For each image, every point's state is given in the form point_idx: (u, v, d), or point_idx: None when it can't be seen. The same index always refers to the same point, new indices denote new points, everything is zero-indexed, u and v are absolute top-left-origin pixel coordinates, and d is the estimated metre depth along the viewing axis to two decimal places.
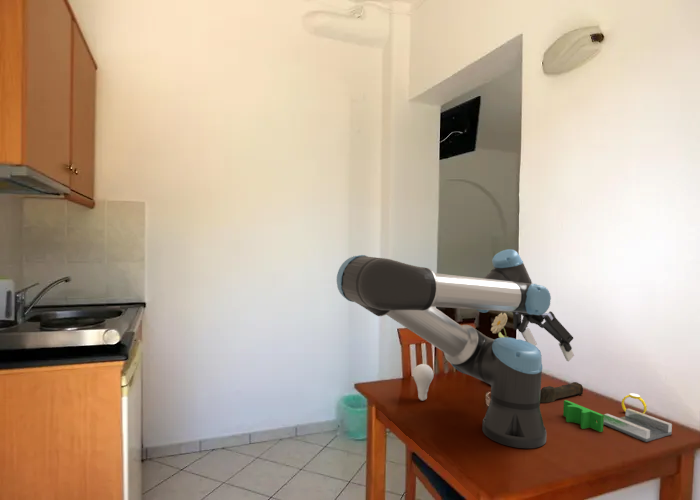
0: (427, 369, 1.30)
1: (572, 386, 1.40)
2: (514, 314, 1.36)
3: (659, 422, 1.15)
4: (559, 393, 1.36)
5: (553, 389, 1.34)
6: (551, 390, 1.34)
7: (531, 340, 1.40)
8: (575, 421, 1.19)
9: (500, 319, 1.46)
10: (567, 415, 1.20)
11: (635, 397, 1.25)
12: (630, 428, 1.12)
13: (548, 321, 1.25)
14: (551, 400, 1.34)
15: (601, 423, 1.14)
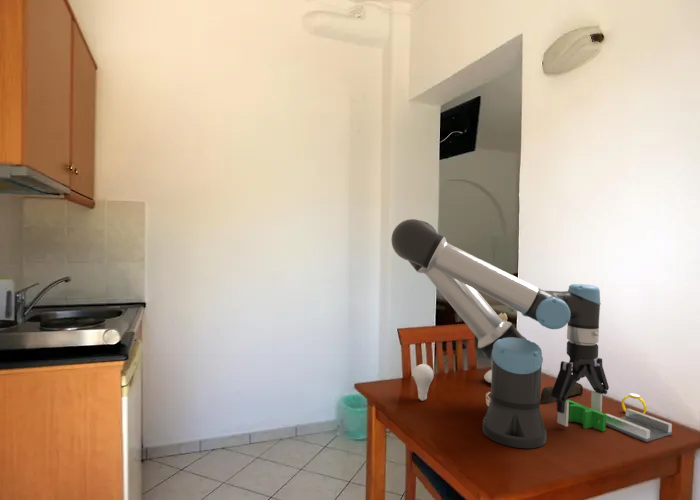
0: (427, 369, 1.30)
1: None
2: None
3: (659, 422, 1.15)
4: None
5: None
6: None
7: (596, 407, 1.21)
8: (577, 420, 1.20)
9: None
10: (569, 414, 1.20)
11: (635, 397, 1.25)
12: (630, 428, 1.12)
13: None
14: (552, 400, 1.34)
15: (603, 423, 1.14)
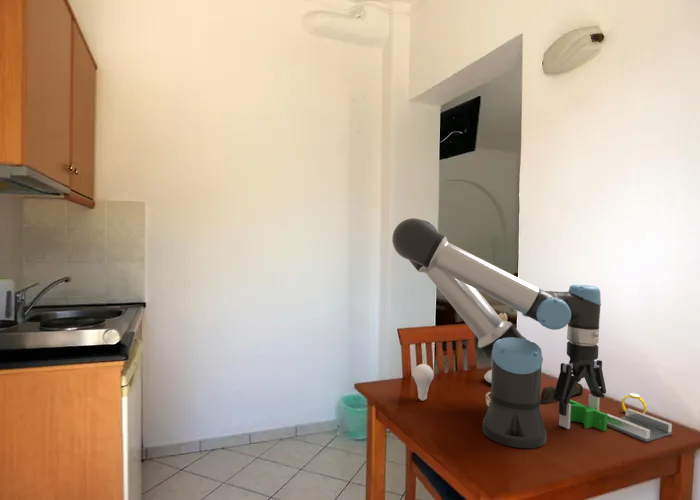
0: (427, 369, 1.30)
1: None
2: None
3: (659, 422, 1.15)
4: None
5: (554, 389, 1.34)
6: (552, 391, 1.34)
7: None
8: (579, 420, 1.20)
9: None
10: (571, 414, 1.20)
11: (635, 397, 1.25)
12: (630, 428, 1.12)
13: None
14: (552, 400, 1.34)
15: (605, 422, 1.15)
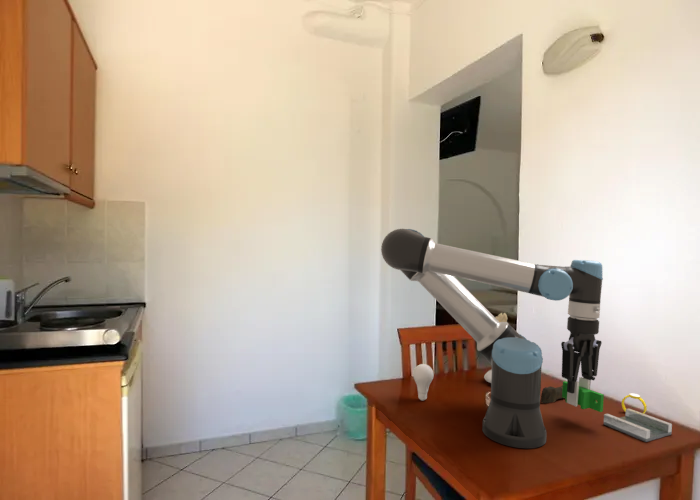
0: (427, 369, 1.30)
1: None
2: None
3: (659, 422, 1.15)
4: (560, 394, 1.35)
5: (554, 389, 1.34)
6: (552, 391, 1.34)
7: None
8: None
9: (500, 319, 1.46)
10: None
11: (635, 397, 1.25)
12: (630, 428, 1.12)
13: None
14: (552, 400, 1.34)
15: (601, 402, 1.14)
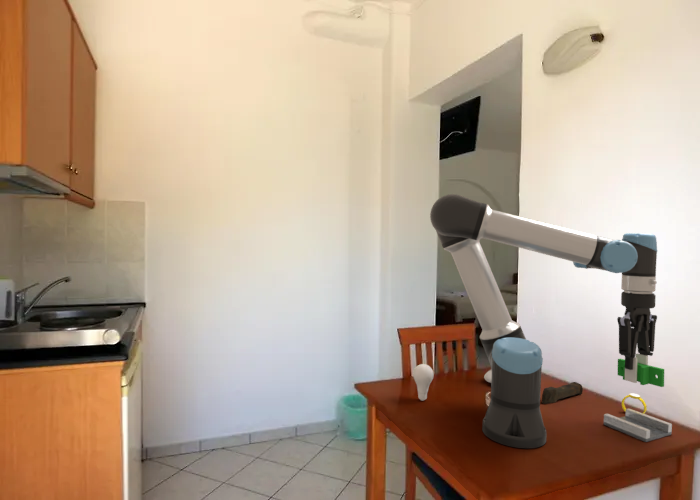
0: (427, 369, 1.30)
1: (572, 386, 1.40)
2: None
3: (659, 422, 1.15)
4: (560, 394, 1.35)
5: (555, 390, 1.34)
6: (553, 391, 1.34)
7: None
8: None
9: None
10: (624, 372, 1.17)
11: (635, 397, 1.25)
12: (630, 428, 1.12)
13: None
14: (553, 401, 1.34)
15: (662, 377, 1.11)
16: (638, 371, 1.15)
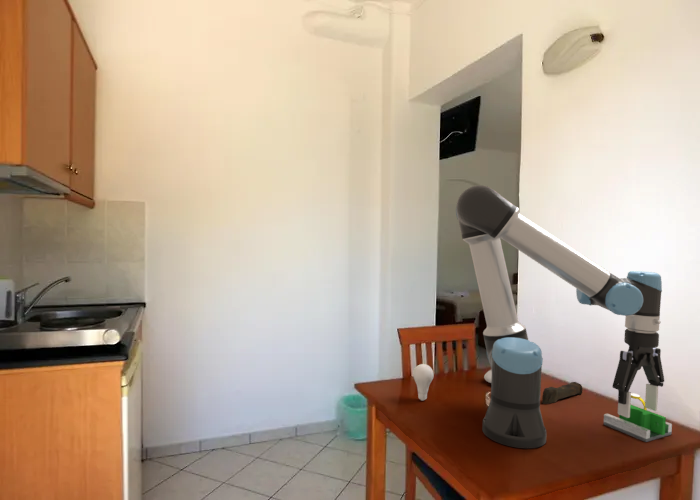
0: (427, 369, 1.30)
1: (572, 386, 1.40)
2: None
3: None
4: (560, 394, 1.35)
5: (555, 390, 1.34)
6: (553, 391, 1.33)
7: (651, 400, 1.18)
8: (634, 423, 1.17)
9: None
10: (625, 417, 1.17)
11: (635, 397, 1.25)
12: (630, 428, 1.12)
13: None
14: (553, 401, 1.34)
15: (663, 425, 1.11)
16: (639, 417, 1.16)
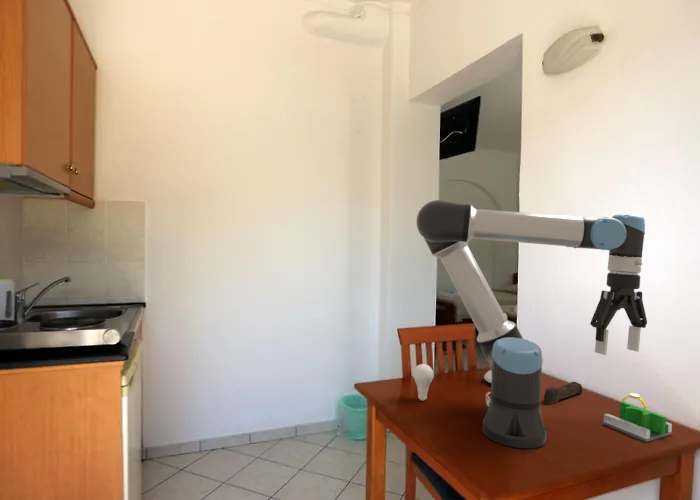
0: (427, 369, 1.30)
1: (572, 386, 1.40)
2: None
3: None
4: (561, 394, 1.35)
5: (557, 390, 1.34)
6: (555, 391, 1.33)
7: (633, 341, 1.20)
8: (634, 423, 1.17)
9: None
10: (626, 417, 1.17)
11: (635, 397, 1.25)
12: (630, 428, 1.12)
13: None
14: (555, 401, 1.33)
15: (663, 425, 1.11)
16: (640, 417, 1.16)
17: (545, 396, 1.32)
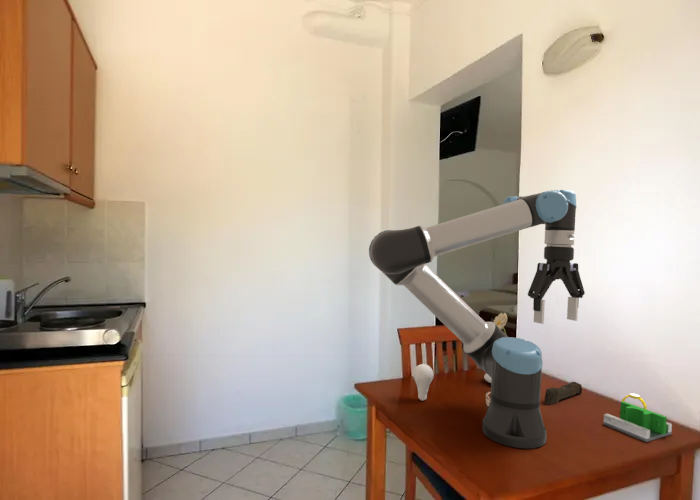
0: (427, 369, 1.30)
1: (572, 386, 1.40)
2: None
3: None
4: (562, 394, 1.35)
5: (557, 390, 1.33)
6: (555, 392, 1.33)
7: (572, 311, 1.26)
8: (634, 423, 1.17)
9: (500, 319, 1.46)
10: (626, 417, 1.17)
11: (635, 397, 1.25)
12: (630, 428, 1.12)
13: None
14: (555, 401, 1.33)
15: (664, 425, 1.12)
16: (640, 416, 1.16)
17: (546, 396, 1.32)
